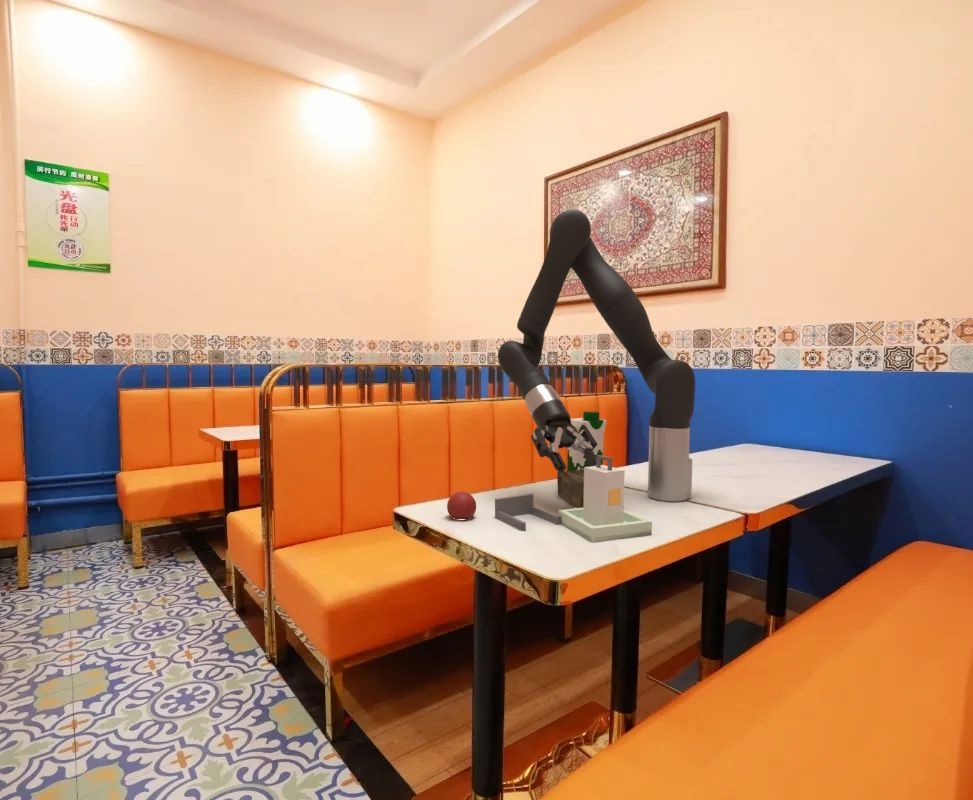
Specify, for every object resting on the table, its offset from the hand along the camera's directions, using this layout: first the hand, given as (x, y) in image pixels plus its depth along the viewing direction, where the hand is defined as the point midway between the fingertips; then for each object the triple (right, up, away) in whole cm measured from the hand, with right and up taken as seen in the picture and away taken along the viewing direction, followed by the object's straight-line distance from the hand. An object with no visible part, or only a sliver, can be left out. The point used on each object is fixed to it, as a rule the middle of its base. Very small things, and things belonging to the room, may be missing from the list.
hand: (579, 468), depth 111 cm
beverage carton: (+4, -10, +13) cm, 17 cm away
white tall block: (+4, -10, -6) cm, 12 cm away
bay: (-11, -11, -1) cm, 15 cm away
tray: (+4, -11, -6) cm, 13 cm away
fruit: (-24, -11, 0) cm, 26 cm away
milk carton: (+6, -9, +29) cm, 31 cm away
